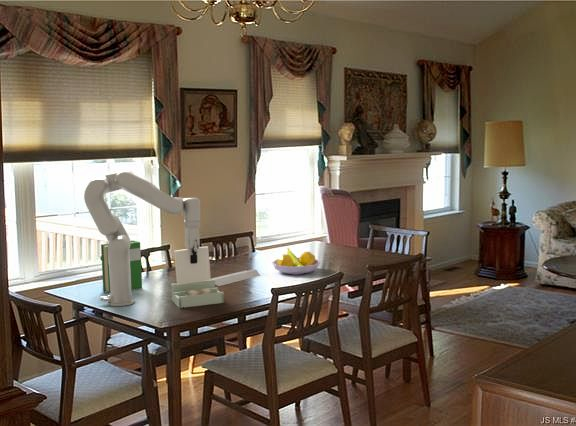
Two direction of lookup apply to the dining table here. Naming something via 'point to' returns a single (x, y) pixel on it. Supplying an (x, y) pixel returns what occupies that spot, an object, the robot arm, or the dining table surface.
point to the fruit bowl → (296, 263)
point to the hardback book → (134, 266)
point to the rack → (199, 299)
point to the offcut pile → (198, 292)
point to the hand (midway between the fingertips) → (193, 262)
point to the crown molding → (235, 277)
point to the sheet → (192, 266)
